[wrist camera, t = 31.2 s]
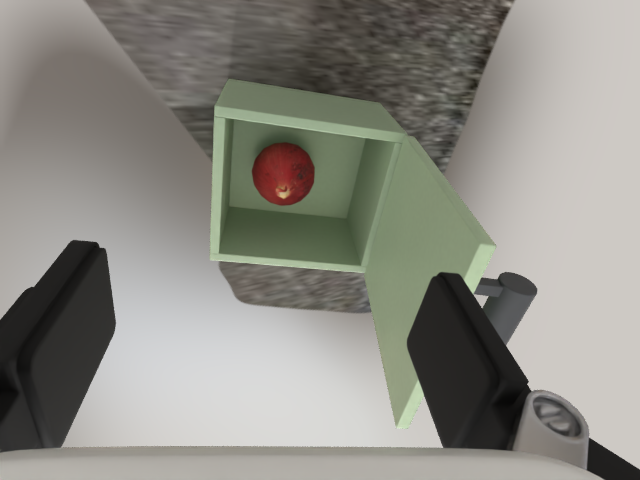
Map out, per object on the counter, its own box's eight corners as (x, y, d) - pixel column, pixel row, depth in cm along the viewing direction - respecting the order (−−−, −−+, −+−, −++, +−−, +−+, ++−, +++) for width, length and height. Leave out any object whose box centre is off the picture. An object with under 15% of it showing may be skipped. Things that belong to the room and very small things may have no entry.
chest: (221, 208, 43) (209, 260, 35) (228, 78, 36) (214, 105, 28) (350, 221, 46) (367, 273, 38) (379, 102, 39) (407, 133, 31)
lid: (395, 428, 24) (478, 434, 25) (480, 243, 17) (592, 258, 18) (363, 275, 37) (418, 282, 38) (404, 134, 30) (471, 146, 31)
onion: (296, 121, 38) (300, 150, 32) (320, 171, 41) (329, 207, 35) (243, 147, 39) (237, 180, 32) (271, 194, 42) (270, 233, 35)
